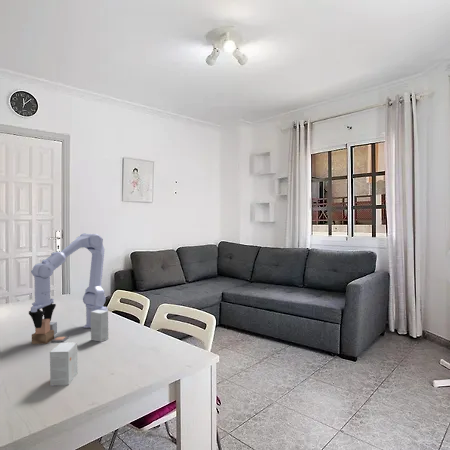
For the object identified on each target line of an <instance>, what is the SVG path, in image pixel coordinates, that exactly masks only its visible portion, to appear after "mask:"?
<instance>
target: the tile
mask: <svg viewBox="0 0 450 450" xmlns="http://www.w3.org/2000/svg"><path fill="white" fill-rule="evenodd" d="M69 338H70V337H69V336H56V337H54V339H53V340H52V341H50V343H65V342H66V341H67V340H68V339H69Z"/></svg>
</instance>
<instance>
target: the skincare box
mask: <svg viewBox="0 0 450 450" xmlns="http://www.w3.org/2000/svg"><path fill="white" fill-rule="evenodd" d="M90 340H91V341H95V342H100V343H102V342H104V341H107V340H109V310H108V311H104V310H95V311H92V312H91V328H90Z"/></svg>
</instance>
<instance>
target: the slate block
mask: <svg viewBox="0 0 450 450" xmlns="http://www.w3.org/2000/svg"><path fill="white" fill-rule="evenodd" d="M50 330H54V336H55V335H57V333H58V322H57V321H50Z"/></svg>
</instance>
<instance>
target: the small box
mask: <svg viewBox="0 0 450 450" xmlns="http://www.w3.org/2000/svg"><path fill="white" fill-rule="evenodd" d="M78 367H79V366H78V342H72V341H71V342H70V341H69V342H58V344H57V345H56V346H55V347H54V348H53V349H51V351H50V352H49V369H50V370H49V371H50V373H49V374H50V379H49V380H50V382H49V385H50V386H51V387H53V386H56V387H58V386H69V385H70V384H71V382H72V381H73V380H74V378H76V376H77V374H78V370H79V369H78Z"/></svg>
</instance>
